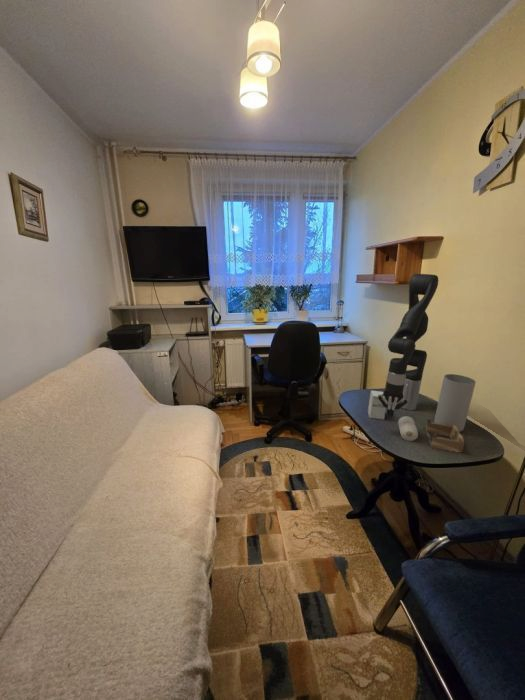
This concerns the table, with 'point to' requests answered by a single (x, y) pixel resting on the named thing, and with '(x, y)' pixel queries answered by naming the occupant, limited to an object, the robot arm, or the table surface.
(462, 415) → the cylinder vase
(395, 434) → the table surface
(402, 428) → the paper roll
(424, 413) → the table surface
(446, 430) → the oak cradle
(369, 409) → the supplement box
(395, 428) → the table surface
